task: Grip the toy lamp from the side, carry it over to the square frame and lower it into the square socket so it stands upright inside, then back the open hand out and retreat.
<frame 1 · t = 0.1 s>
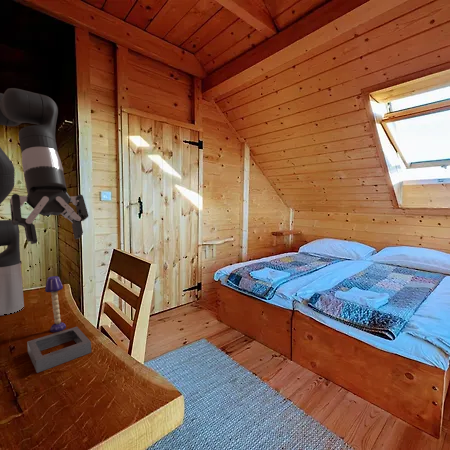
hand: (57, 240, 59), 31 cm above the table, tool tilted 20°, fingers open, 8 cm apart
square frame: (59, 352, 71), on the table
toy lamp: (57, 329, 84), on the table
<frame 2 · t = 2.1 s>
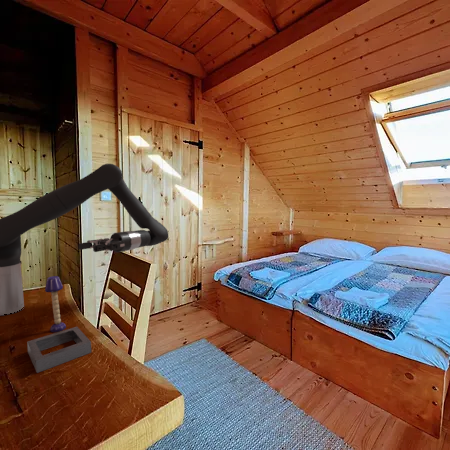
hand: (86, 247, 91), 24 cm above the table, tool horizontal, fingers open, 8 cm apart
nothing on the table moved.
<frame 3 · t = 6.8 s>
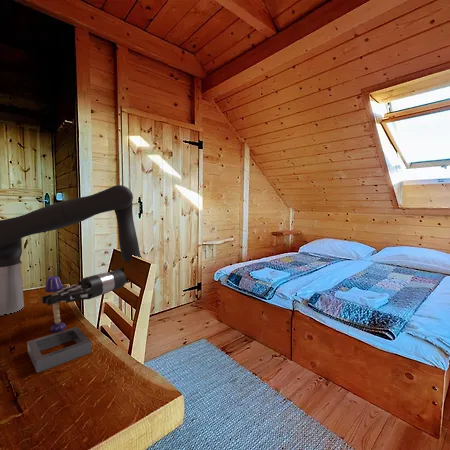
hand: (44, 301, 81), 10 cm above the table, tool horizontal, fingers closed on toy lamp
toy lamp: (57, 329, 84), on the table, touching gripper
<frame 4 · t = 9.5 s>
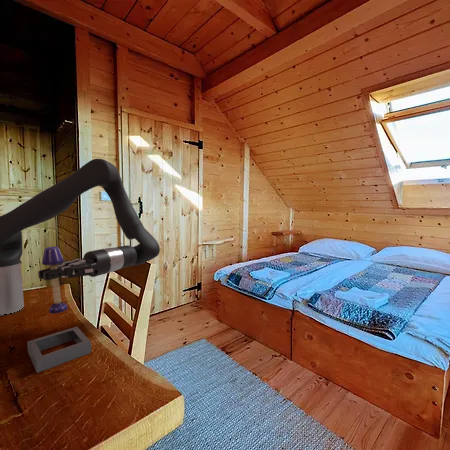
hand: (42, 275, 67), 22 cm above the table, tool horizontal, fingers closed on toy lamp
toy lamp: (57, 310, 70), point 11 cm above the table, touching gripper
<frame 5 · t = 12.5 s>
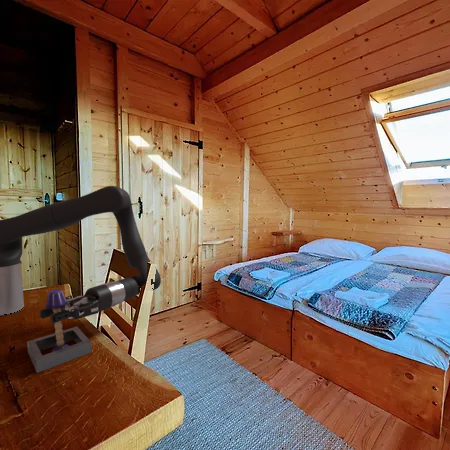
hand: (46, 317, 68), 11 cm above the table, tool horizontal, fingers open, 4 cm apart
toy lamp: (59, 352, 71), resting in square frame
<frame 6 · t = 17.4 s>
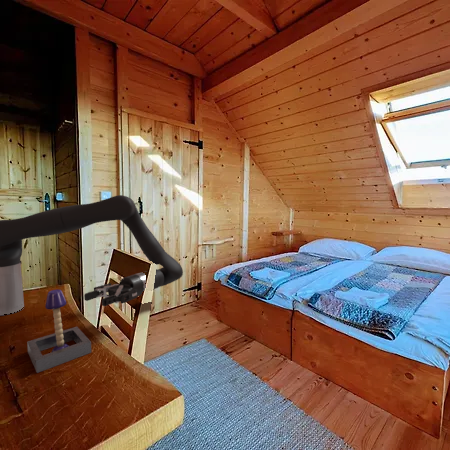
hand: (93, 300, 79), 11 cm above the table, tool horizontal, fingers open, 8 cm apart
nothing on the table moved.
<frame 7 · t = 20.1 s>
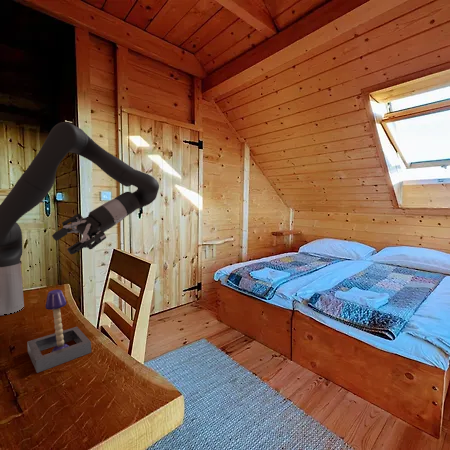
hand: (61, 245, 78), 27 cm above the table, tool tilted 60°, fingers open, 8 cm apart
nothing on the table moved.
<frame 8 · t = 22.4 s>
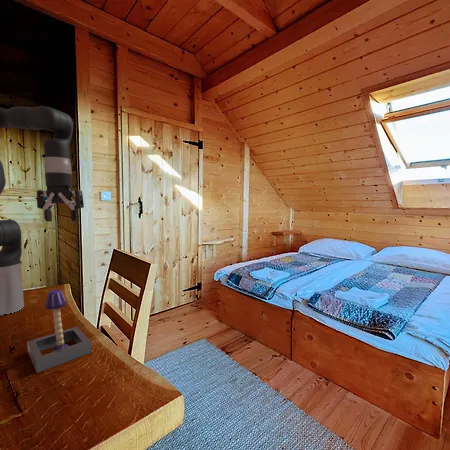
hand: (61, 221, 90), 33 cm above the table, tool pointing down, fingers open, 8 cm apart
nothing on the table moved.
at the end: toy lamp 0.2 cm off-centre on the square frame, point 0.0 cm above the square frame's base; toy lamp tilted 0°; the gripper is holding nothing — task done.
